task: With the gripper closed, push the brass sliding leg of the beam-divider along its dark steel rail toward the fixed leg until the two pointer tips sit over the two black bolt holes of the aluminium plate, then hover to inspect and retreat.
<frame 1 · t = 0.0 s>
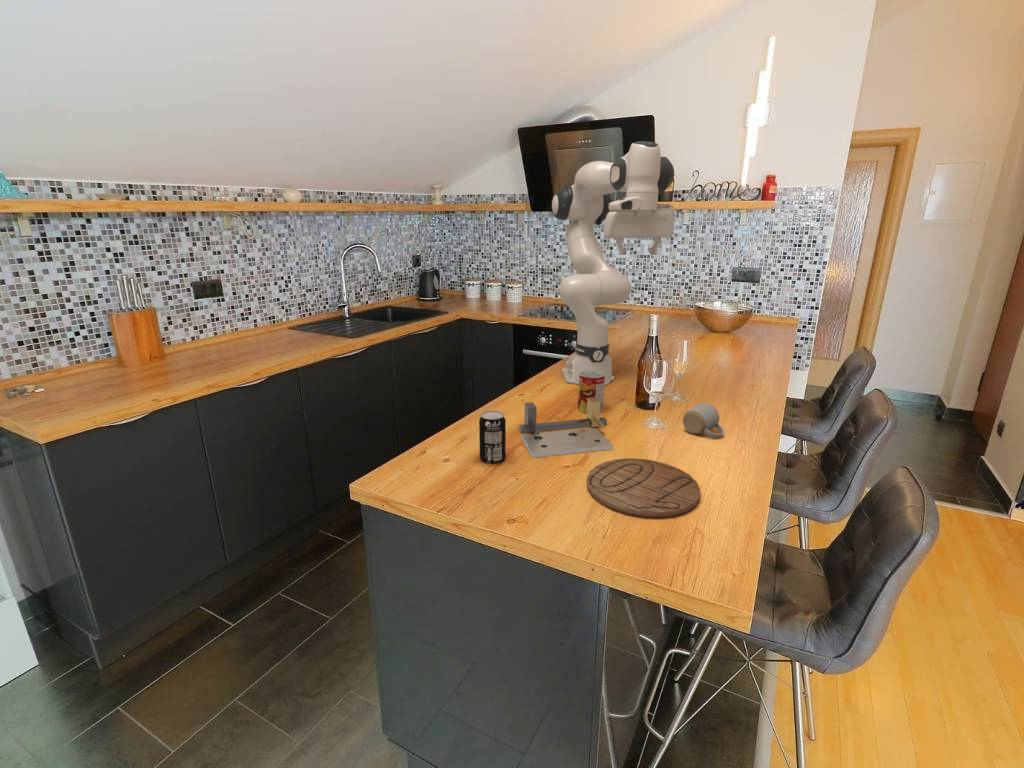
hand: (637, 254, 155), 48 cm above the table, fingers open, 8 cm apart
canned food: (590, 410, 170), on the table
beverage can: (492, 459, 137), on the table
ceramic mug: (703, 432, 154), on the table
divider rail: (563, 427, 156), on the table
bolt plate: (565, 444, 145), on the table
trivet: (641, 491, 123), on the table
sliding leg: (596, 415, 154), point 4 cm above the table, slide at 9.0 cm
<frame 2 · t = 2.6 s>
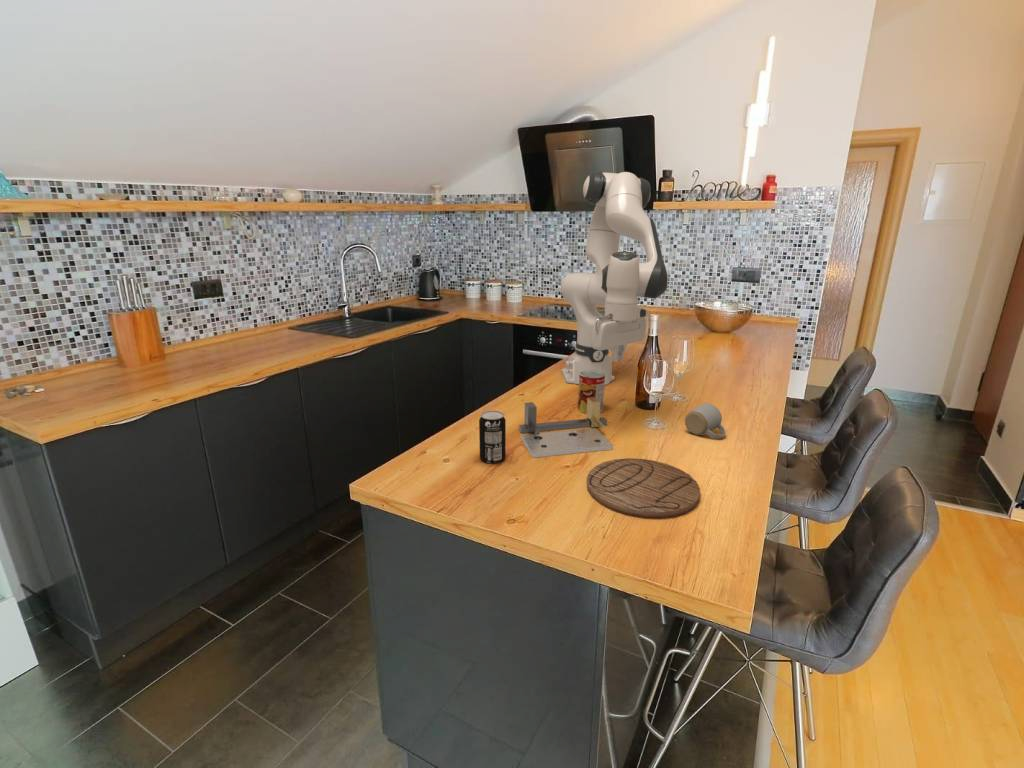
hand: (617, 360, 154), 19 cm above the table, fingers closed
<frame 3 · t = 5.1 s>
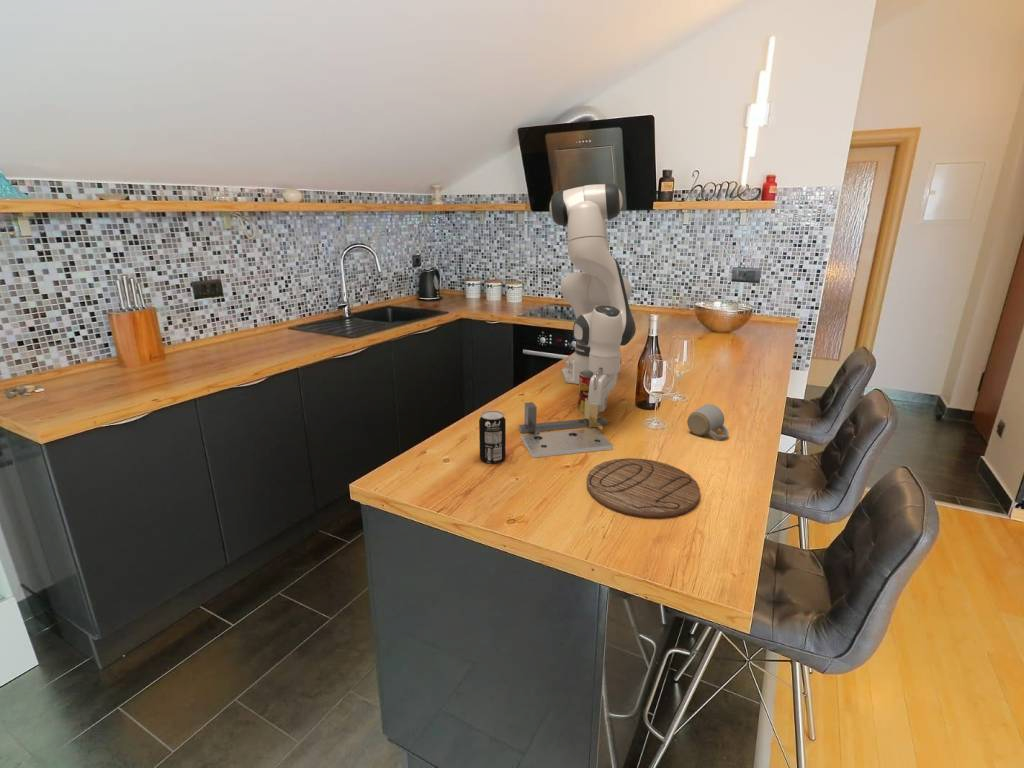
hand: (601, 409, 157), 5 cm above the table, fingers closed
sliding leg: (594, 415, 154), point 4 cm above the table, slide at 8.3 cm, touching gripper
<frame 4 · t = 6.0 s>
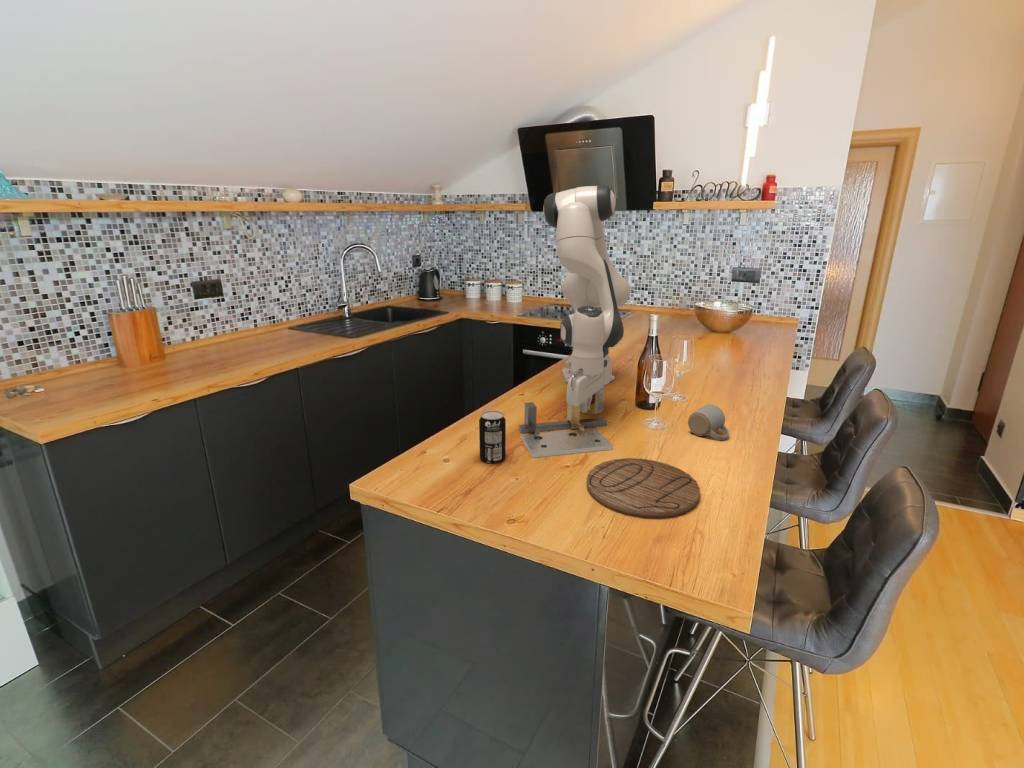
hand: (584, 411, 156), 5 cm above the table, fingers closed
sliding leg: (576, 417, 153), point 4 cm above the table, slide at 2.9 cm, touching gripper
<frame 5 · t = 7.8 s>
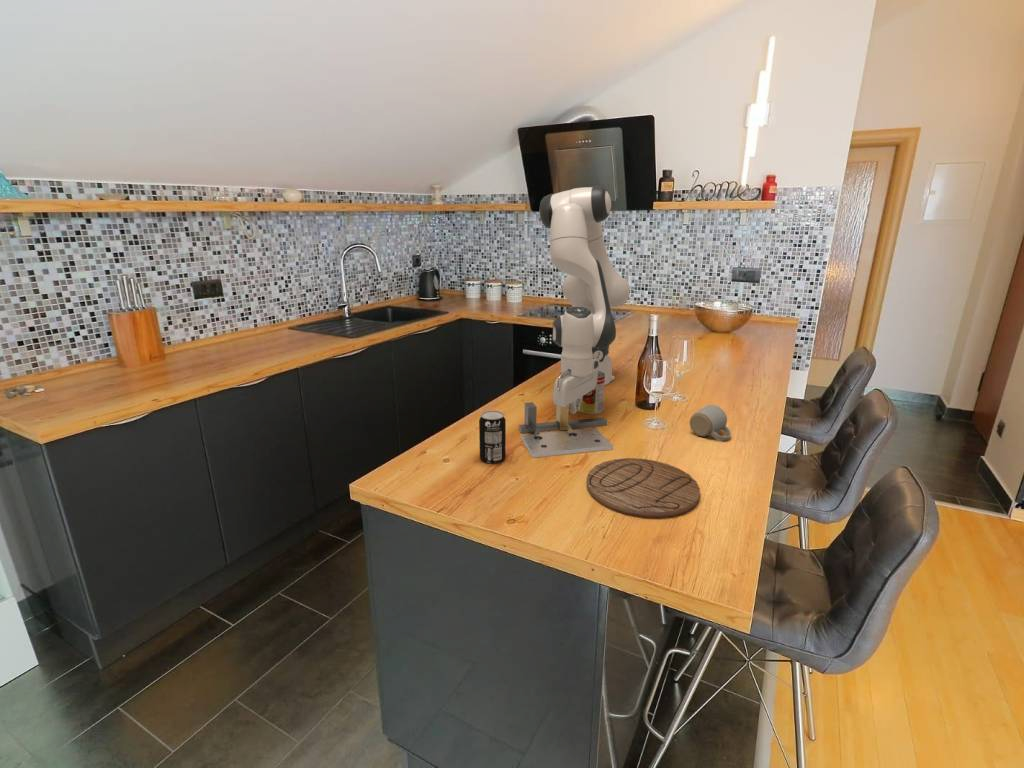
hand: (574, 411, 156), 5 cm above the table, fingers closed
sliding leg: (565, 418, 152), point 4 cm above the table, slide at -0.5 cm, touching gripper
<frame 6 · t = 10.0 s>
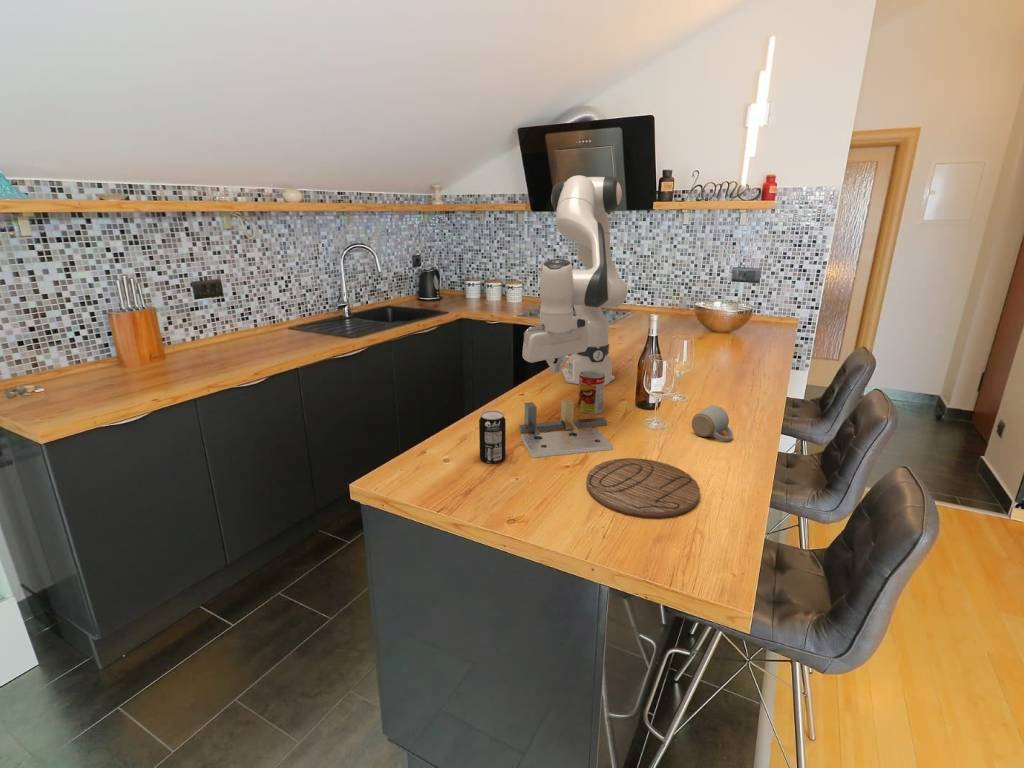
hand: (555, 372, 148), 18 cm above the table, fingers closed
sliding leg: (570, 417, 153), point 4 cm above the table, slide at 1.0 cm
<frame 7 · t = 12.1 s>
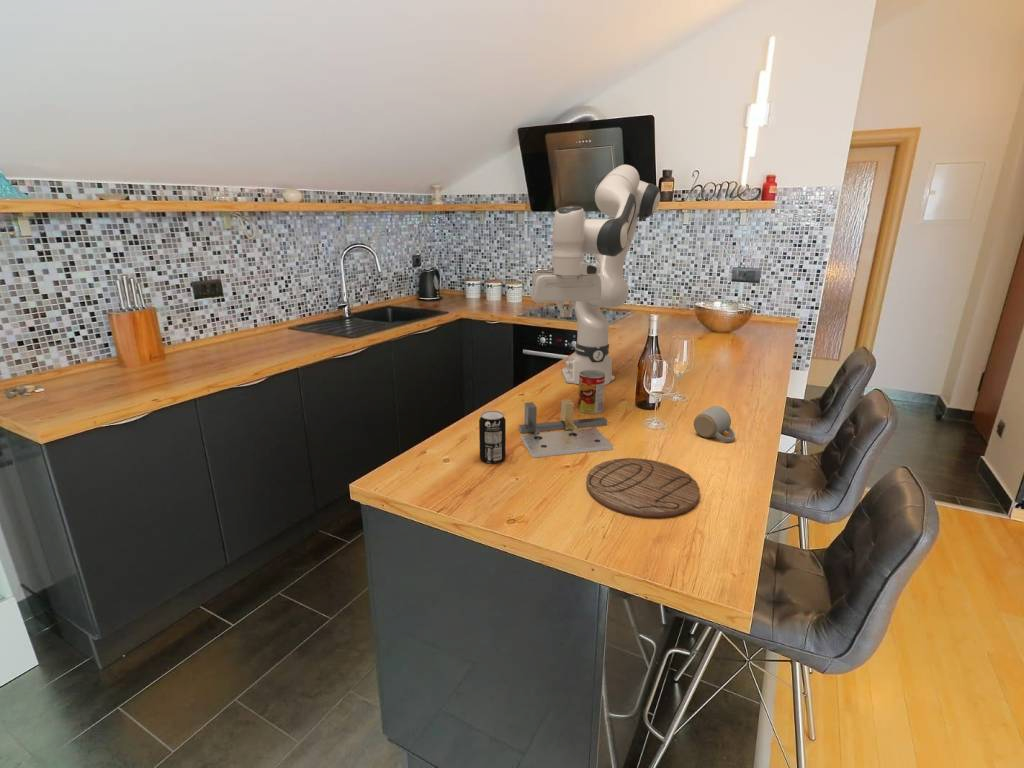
hand: (565, 316, 153), 31 cm above the table, fingers closed
at the end: sliding leg slide at 1.0 cm; the gripper is holding nothing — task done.
